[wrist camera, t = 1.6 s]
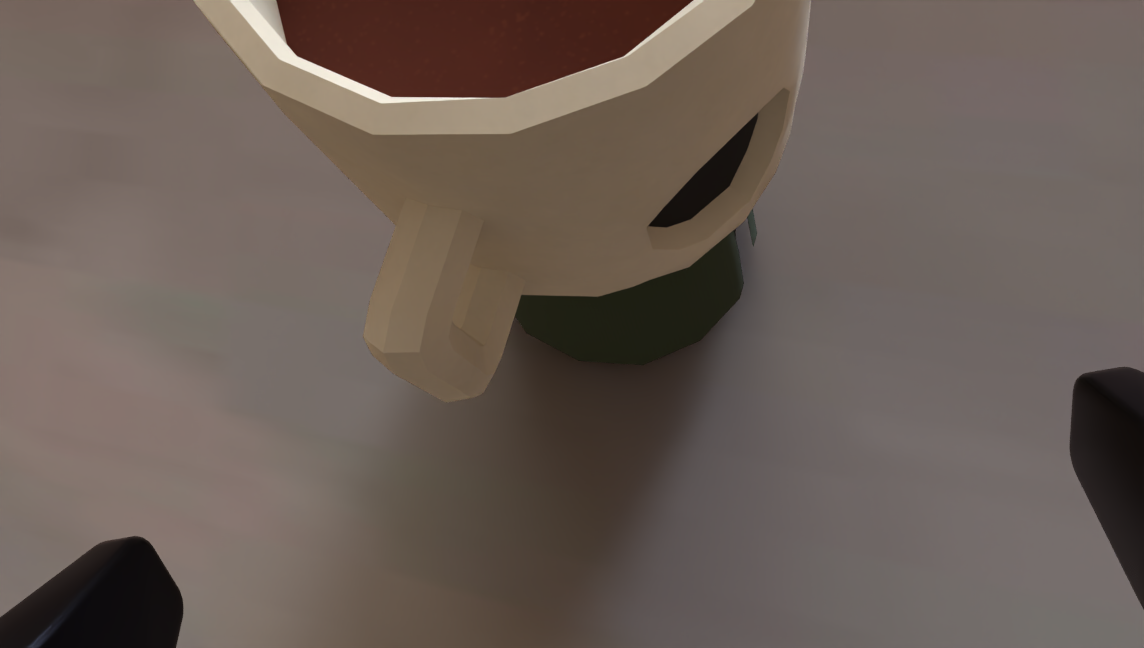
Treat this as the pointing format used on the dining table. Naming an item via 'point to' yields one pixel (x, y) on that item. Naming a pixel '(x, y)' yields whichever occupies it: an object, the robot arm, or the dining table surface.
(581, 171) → the character mug
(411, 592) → the dining table surface
